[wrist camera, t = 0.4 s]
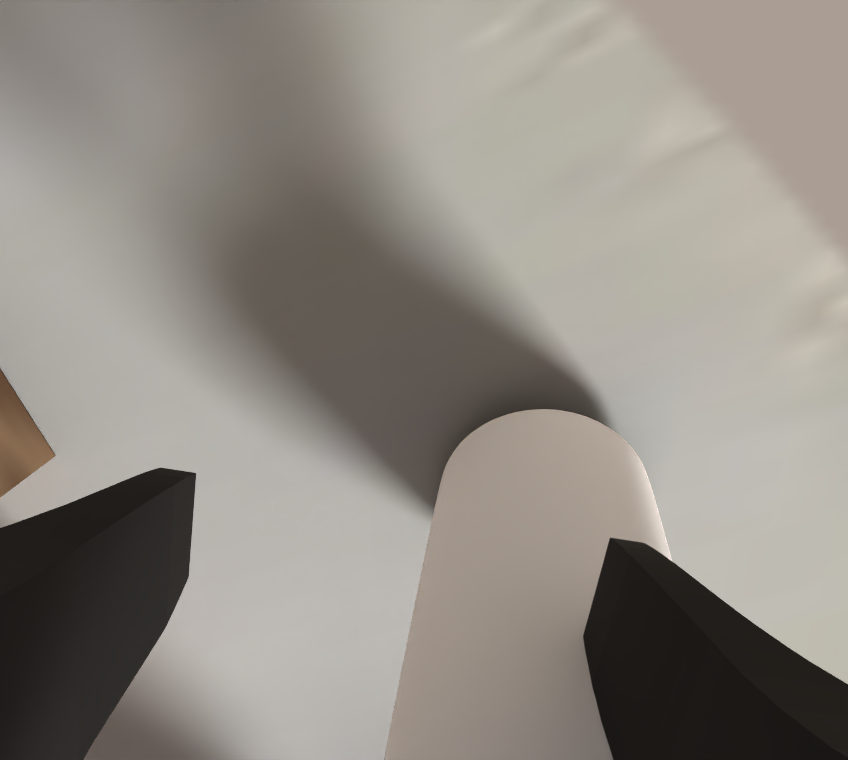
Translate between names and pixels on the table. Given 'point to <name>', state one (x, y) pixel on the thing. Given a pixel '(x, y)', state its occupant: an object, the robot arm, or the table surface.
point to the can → (517, 591)
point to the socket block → (18, 440)
